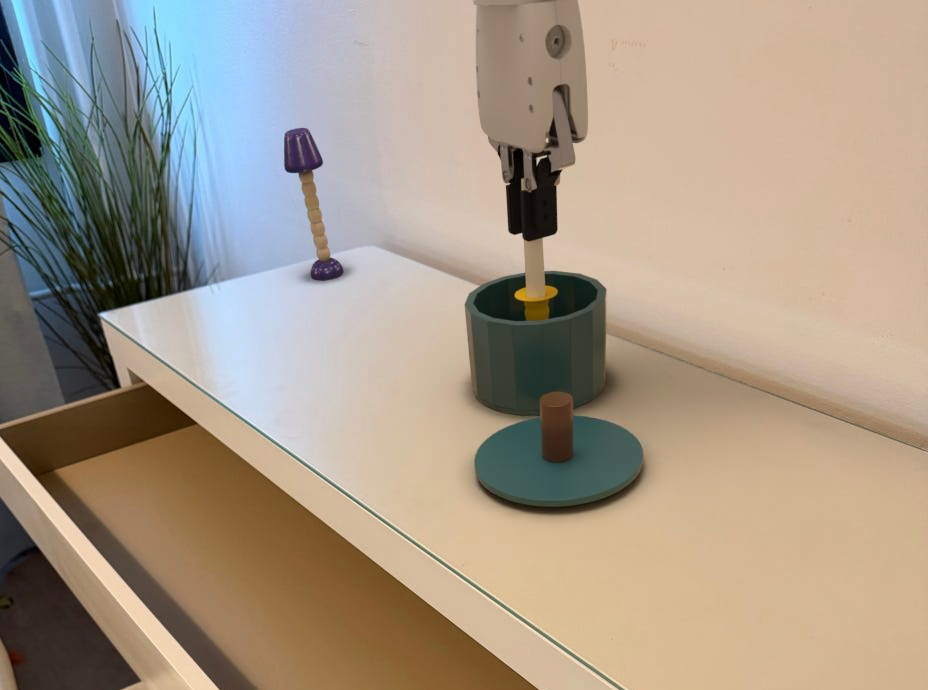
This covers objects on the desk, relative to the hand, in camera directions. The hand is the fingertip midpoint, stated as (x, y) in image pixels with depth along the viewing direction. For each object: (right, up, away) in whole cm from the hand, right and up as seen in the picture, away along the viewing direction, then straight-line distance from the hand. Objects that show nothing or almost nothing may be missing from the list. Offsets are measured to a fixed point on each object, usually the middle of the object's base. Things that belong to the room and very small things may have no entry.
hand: (532, 232), depth 80 cm
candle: (+1, -8, +7) cm, 11 cm away
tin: (+1, -11, +9) cm, 14 cm away
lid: (+2, -20, -3) cm, 21 cm away
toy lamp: (-23, +12, +39) cm, 47 cm away
